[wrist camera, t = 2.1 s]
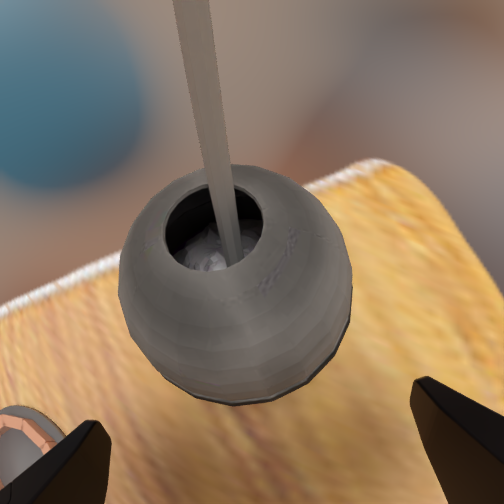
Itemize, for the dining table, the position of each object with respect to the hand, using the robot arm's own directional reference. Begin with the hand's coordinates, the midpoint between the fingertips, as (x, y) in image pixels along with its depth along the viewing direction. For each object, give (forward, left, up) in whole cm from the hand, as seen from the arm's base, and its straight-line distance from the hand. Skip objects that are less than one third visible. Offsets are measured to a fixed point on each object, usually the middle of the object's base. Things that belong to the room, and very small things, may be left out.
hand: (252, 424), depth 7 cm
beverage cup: (+4, -2, -12) cm, 13 cm away
